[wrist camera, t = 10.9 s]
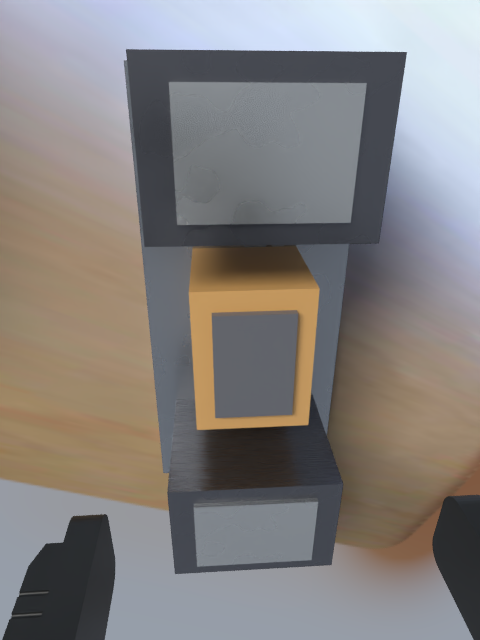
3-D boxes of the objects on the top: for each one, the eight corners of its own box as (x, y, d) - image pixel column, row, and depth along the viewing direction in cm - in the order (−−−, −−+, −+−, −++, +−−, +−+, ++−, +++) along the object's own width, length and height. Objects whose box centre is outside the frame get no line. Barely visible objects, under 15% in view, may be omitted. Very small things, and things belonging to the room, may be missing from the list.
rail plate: (166, 447, 27) (151, 579, 20) (131, 62, 18) (82, 48, 11) (315, 441, 28) (354, 567, 21) (355, 64, 19) (448, 51, 11)
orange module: (192, 248, 20) (188, 296, 15) (296, 246, 20) (321, 292, 16) (198, 366, 23) (196, 435, 18) (289, 362, 23) (309, 430, 18)
